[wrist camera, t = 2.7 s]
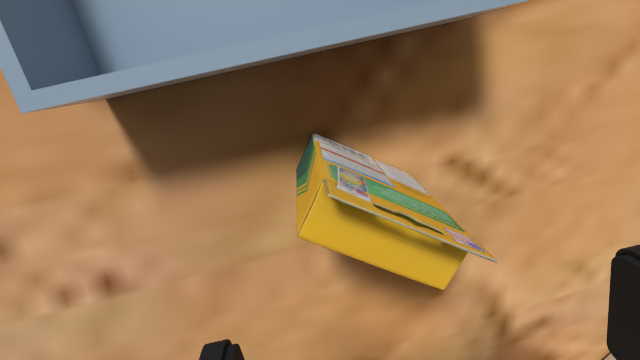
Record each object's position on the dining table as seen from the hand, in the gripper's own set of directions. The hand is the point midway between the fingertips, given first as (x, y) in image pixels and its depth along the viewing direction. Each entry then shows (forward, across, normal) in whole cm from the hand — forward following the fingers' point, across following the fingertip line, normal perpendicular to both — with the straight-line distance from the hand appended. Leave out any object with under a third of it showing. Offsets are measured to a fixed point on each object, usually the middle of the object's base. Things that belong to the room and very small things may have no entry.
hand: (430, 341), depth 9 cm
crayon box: (+16, -1, +1) cm, 16 cm away
